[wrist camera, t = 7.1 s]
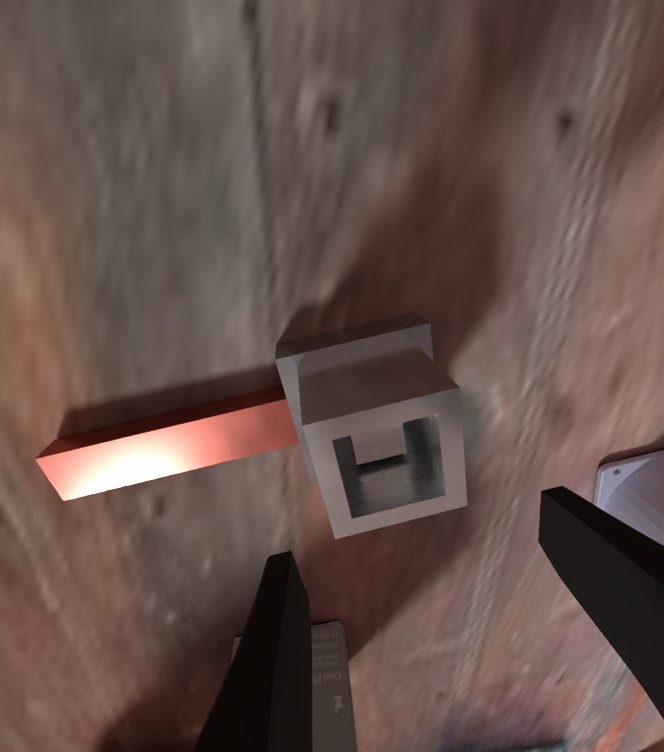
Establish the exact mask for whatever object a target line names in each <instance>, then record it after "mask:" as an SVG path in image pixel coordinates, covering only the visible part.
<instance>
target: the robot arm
mask: <svg viewBox="0 0 664 752" xmlns="http://www.w3.org/2000/svg"><path fill="white" fill-rule="evenodd" d="M538 542H539V544H540V545H541V547H542V549H543V550H544V552H545V554H546V555H547V557H548V559H549V560H550V562H551V564H552V565H553V567H554V568H555V570H556V572H557V573H558V575H559V576H560V578H561V579H562V581H563V582H564V584H565V585H566V586H567V588H568V589H569V590H570V592H571V593H572V594H573V596H574V597H575V598H576V600H577V601H578V602H579V604H580V605H581V606H582V607H583V609H584V610H585V611H586V613H587V614H588V615H589V617H590V618H591V619H592V621H593V622H594V623H595V624H596V626H597V627H598V628H599V630H600V631H601V632H602V634H603V635H604V636H605V638H606V639H607V640H608V641H609V643H610V644H611V645H612V647H613V648H614V649H615V651H616V652H617V653H618V655H619V656H620V657H621V658H622V660H623V661H624V662H625V664H626V665H627V666H628V668H629V669H630V670H631V672H632V673H633V675H634V676H635V677H636V679H637V680H638V682H639V683H640V684H641V686H642V687H643V689H644V690H645V692H646V693H647V695H648V696H649V698H650V699H651V701H652V702H653V704H654V705H655V707H656V708H657V710H658V711H659V713H660V714H661V716H662V717H663V719H664V450H662V451H657V452H653V453H649V454H645V455H641V456H637V457H633V458H628V459H624V460H620V461H616V462H612V463H608V464H604V465H602V466H601V467H600V468H599V470H598V474H597V481H596V488H595V495H594V502H593V504H592V503H590V502H589V501H587V500H585V499H584V498H582V497H580V496H579V495H577V494H575V493H574V492H572V491H570V490H569V489H567V488H565V487H563V486H560V487H556V488H551V489H547V490H543V491H541V505H540V522H539V539H538ZM191 752H313V736H312V633H311V622H310V612H309V603H308V596H307V593H306V590H305V588H304V585H303V582H302V579H301V577H300V574H299V571H298V568H297V566H296V563H295V560H294V557H293V555H292V552H291V551H288V552H284V553H280V554H276V555H271V556H269V558H268V559H267V561H266V565H265V569H264V572H263V576H262V579H261V582H260V585H259V589H258V592H257V595H256V598H255V601H254V604H253V607H252V610H251V613H250V615H249V618H248V621H247V624H246V626H245V629H244V632H243V634H242V637H241V640H240V643H239V645H238V648H237V650H236V653H235V655H234V658H233V660H232V663H231V665H230V667H229V670H228V672H227V675H226V677H225V679H224V682H223V684H222V687H221V689H220V691H219V694H218V696H217V698H216V700H215V702H214V705H213V707H212V709H211V711H210V713H209V716H208V718H207V720H206V722H205V724H204V726H203V728H202V730H201V732H200V735H199V737H198V739H197V741H196V743H195V745H194V747H193V749H192V751H191Z"/></svg>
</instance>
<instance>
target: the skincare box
mask: <svg viewBox="0 0 664 752" xmlns="http://www.w3.org/2000/svg"><path fill="white" fill-rule="evenodd" d="M311 633H312V736H313V752H358V748H357V739H356V730H355V720H354V712H353V703H352V694H351V685H350V676H349V667H348V658H347V649H346V640H345V632H344V628H343V626H342V625H341V622H340V621H334V622H330V623H326V624H319V625H313V626H311ZM240 640H241V637H236V638H235V640H234V641H233V651H232V658H231V663H232V660H233V658H234V655H235V653H236V650H237V648H238V645H239V643H240Z"/></svg>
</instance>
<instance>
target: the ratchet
mask: <svg viewBox="0 0 664 752" xmlns="http://www.w3.org/2000/svg"><path fill="white" fill-rule="evenodd" d="M407 339H411V340H412V341H414V342H415V343H416V344H417V345H418V346H419V347H420V348H421V349H422V350H423V351H424V352H425V353H426V354H427V355H428V356H429V357H430V358H431V359H432V360H433V361H434V359H433V348H432V337H431V326H430V322H428V321H427V320H426V319H424V318H423V317H422V316H420V315H419V314H418V313H416V312H415V313H411V314H407V315H402V316H398V317H394V318H389V319H385V320H381V321H376V322H372V323H368V324H363V325H359V326H355V327H350V328H346V329H342V330H337V331H333V332H329V333H325V334H320V335H316V336H312V337H307V338H303V339H299V340H294V341H290V342H286V343H281V344H277V345H276V354H275V361H276V364H277V368H278V371H279V374H280V378H281V381H282V386H278V387H274V388H270V389H265V390H261V391H257V392H253V393H249V394H244V395H240V396H236V397H232V398H228V399H223V400H219V401H215V402H211V403H207V404H202V405H198V406H194V407H190V408H186V409H181V410H177V411H173V412H169V413H165V414H160V415H156V416H152V417H148V418H144V419H139V420H135V421H131V422H127V423H123V424H118V425H114V426H110V427H106V428H102V429H97V430H93V431H89V432H85V433H81V434H76V435H72V436H68V437H64V438H60V439H55V440H54V441H53V442H52V443H51V444H50V445H49V446H48V447H47V448H46V449H45V450H44V451H43V452H42V453H41V454H40V455H39V456H38V457H37V458H36V459H35V460H36V461H37V463H38V464H39V466H40V467H41V469H42V470H43V472H44V473H45V474H46V476H47V477H48V479H49V480H50V482H51V483H52V485H53V486H54V487H55V489H56V490H57V492H58V493H59V495H60V496H61V498H62V499H63V500H64V501H65V500H69V499H73V498H77V497H81V496H85V495H89V494H93V493H97V492H102V491H106V490H110V489H114V488H118V487H122V486H126V485H130V484H135V483H139V482H143V481H147V480H151V479H155V478H159V477H163V476H168V475H172V474H176V473H180V472H184V471H188V470H192V469H196V468H200V467H205V466H209V465H213V464H217V463H221V462H225V461H229V460H233V459H238V458H242V457H246V456H250V455H254V454H258V453H262V452H266V451H271V450H275V449H279V448H283V447H287V446H291V445H295V444H299V443H300V446H301V449H302V452H303V456H304V459H305V463H306V466H307V469H308V473H309V476H310V480H311V482H313V481H317V480H318V479H317V475H316V472H315V468H314V465H313V461H312V458H311V455H310V451H309V448H308V444H307V441H306V437H305V434H304V431H303V427H302V418H301V407H300V395H299V384H298V372H297V366H299V365H303V364H308V363H312V362H316V361H320V360H324V359H328V358H332V357H336V356H341V355H345V354H349V353H353V352H357V351H361V350H365V349H369V348H374V347H378V346H382V345H386V344H390V343H394V342H398V341H402V340H407ZM403 425H405V422H403V423H399V424H395V425H391V426H387V427H383V428H379V429H375V430H371V431H367V432H363V433H359V434H355V435H351V436H347V437H343V438H339V439H335V440H334V441H335V442H336V441H340V440H344V439H348V438H349V439H350V442H351V446H352V449H353V452H354V456H355V459H356V463H357V465H359V464H363V463H367V462H371V461H375V460H379V459H383V458H387V457H391V456H396V455H400V454H404V453H407V451H406V444H405V437H404V430H403Z"/></svg>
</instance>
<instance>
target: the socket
mask: <svg viewBox="0 0 664 752" xmlns="http://www.w3.org/2000/svg"><path fill="white" fill-rule="evenodd" d="M297 372H298V384H299V395H300V407H301V418H302V427H303V431H304V434H305V437H306V441H307V444H308V448H309V451H310V455H311V458H312V461H313V465H314V468H315V472H316V475H317V479H318V482H319V486H320V489H321V492H322V496H323V499H324V503H325V506H326V510H327V513H328V517H329V520H330V523H331V527H332V530H333V534H334V537H335V539H338V538H342V537H346V536H350V535H354V534H358V533H362V532H366V531H370V530H374V529H378V528H382V527H386V526H390V525H394V524H397V523H401V522H405V521H409V520H413V519H417V518H421V517H425V516H429V515H433V514H437V513H441V512H445V511H449V510H452V509H456V508H460V507H464V506H467V491H466V475H465V460H464V444H463V429H462V413H461V398H460V387H459V386H458V385H457V384H456V383H455V382H454V381H453V380H452V379H451V378H450V377H449V376H448V375H447V374H446V373H445V372H444V371H443V370H442V369H441V368H440V367H439V366H438V365H437V364H436V363H435V362H434V361H433V360H432V359H431V358H430V357H429V356H428V355H427V354H426V353H425V352H424V351H423V350H422V349H421V348H420V347H419V346H418V345H417V344H416V343H415V342H414V341H412V340H411V339H407V340H402V341H398V342H394V343H390V344H386V345H382V346H378V347H374V348H369V349H365V350H361V351H357V352H353V353H349V354H345V355H341V356H336V357H332V358H328V359H324V360H320V361H316V362H312V363H308V364H303V365H299V366H297ZM403 422H405V425H403V430H404V437H405V444H406V451H407V453H404V454H400V455H396V456H391V457H387V458H383V459H379V460H375V461H371V462H367V463H363V464H359V465H357V463H356V459H355V456H354V452H353V449H352V446H351V442H350V439H349V438H348V439H344V440H340V441H336V442H335V441H334V440H335V439H339V438H343V437H347V436H351V435H355V434H359V433H363V432H367V431H371V430H375V429H379V428H383V427H387V426H391V425H395V424H399V423H403Z"/></svg>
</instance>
